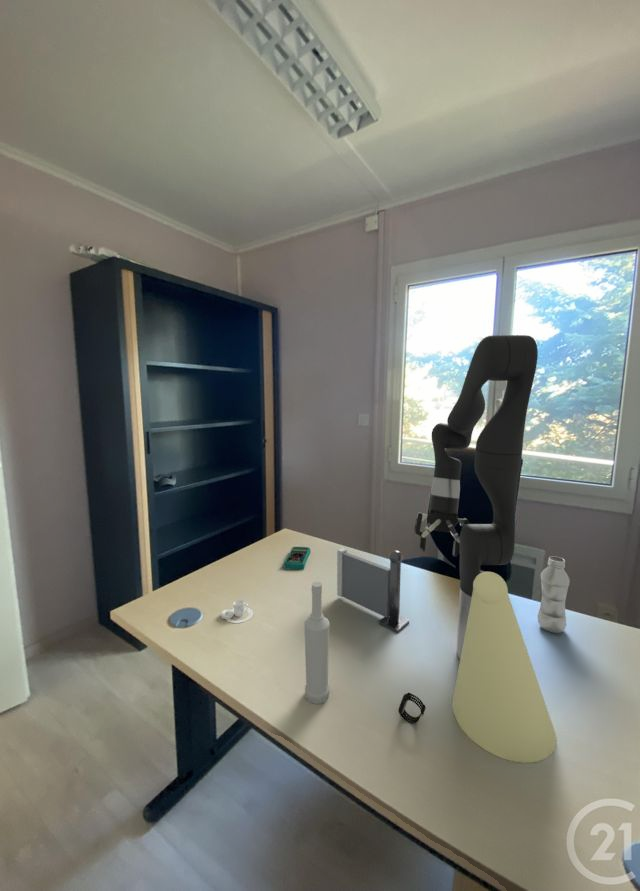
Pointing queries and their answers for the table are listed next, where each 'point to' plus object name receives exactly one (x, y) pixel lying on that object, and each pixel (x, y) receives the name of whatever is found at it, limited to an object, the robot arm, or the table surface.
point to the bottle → (317, 650)
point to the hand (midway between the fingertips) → (438, 553)
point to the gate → (363, 582)
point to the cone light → (500, 680)
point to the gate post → (394, 595)
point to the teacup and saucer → (237, 612)
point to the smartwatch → (403, 705)
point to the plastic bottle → (553, 596)
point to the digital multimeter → (297, 558)
